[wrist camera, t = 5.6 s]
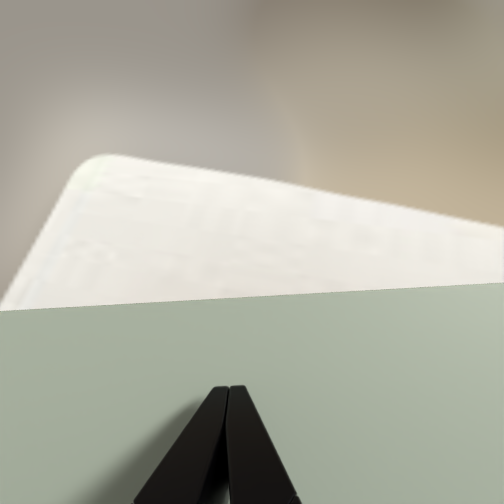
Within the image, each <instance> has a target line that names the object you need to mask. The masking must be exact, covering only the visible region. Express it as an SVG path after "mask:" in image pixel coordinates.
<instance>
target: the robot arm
mask: <svg viewBox="0 0 504 504" xmlns="http://www.w3.org/2000/svg"><path fill="white" fill-rule="evenodd" d="M229 497H230V504H302V502H301V500H300V498H299V496H297V492H296V490H295V488H294V486H293V484H292V482H291V479H290V477H289V475H288V473H287V471H286V469H285V467H284V465H283V463H282V461H281V459H280V456H279V454H278V452H277V450H276V448H275V446H274V444H273V442H272V440H271V438H270V436H269V434H268V431H267V429H266V427H265V425H264V423H263V421H262V419H261V417H260V415H259V413H258V411H257V409H256V406H255V404H254V402H253V400H252V398H251V396H250V394H249V392H248V390H247V388H246V386H245V385H232V386H230V388H229V387H228V386H215V387H213V388H212V389H211V391H210V392H209V394H208V395H207V396H206V398H205V399H204V401H203V402H202V403H201V405H200V406H199V408H198V409H197V411H196V412H195V413H194V415H193V416H192V418H191V419H190V420H189V422H188V423H187V425H186V426H185V427H184V429H183V430H182V432H181V433H180V435H179V436H178V437H177V439H176V440H175V442H174V443H173V444H172V446H171V447H170V449H169V450H168V452H167V453H166V454H165V456H164V457H163V459H162V460H161V461H160V463H159V464H158V466H157V467H156V468H155V470H154V471H153V473H152V474H151V476H150V477H149V478H148V480H147V481H146V483H145V484H144V485H143V487H142V488H141V490H140V491H139V492H138V494H137V495H136V497H135V498H134V500H133V503H134V504H228V500H229ZM133 503H131V504H133Z"/></svg>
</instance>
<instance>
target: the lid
mask: <svg viewBox="0 0 504 504" xmlns="http://www.w3.org/2000/svg"><path fill="white" fill-rule="evenodd" d="M232 385H245V386H246V388H247V390H248V392H249V394H250V396H251V398H252V400H253V402H254V404H255V406H256V409H257V411H258V413H259V415H260V417H261V419H262V421H263V423H264V425H265V427H266V429H267V431H268V434H269V436H270V438H271V440H272V442H273V444H274V446H275V448H276V450H277V452H278V454H279V456H280V459H281V461H282V463H283V465H284V467H285V469H286V471H287V473H288V475H289V477H290V479H291V482H292V484H293V486H294V488H295V490H296V492H297V496H299V498H300V500H301V502H302V504H504V283H490V284H472V285H455V286H437V287H419V288H402V289H384V290H366V291H349V292H331V293H313V294H296V295H278V296H260V297H242V298H225V299H207V300H189V301H172V302H154V303H136V304H119V305H101V306H83V307H66V308H48V309H30V310H13V311H0V504H131V503H133V500H134V498H135V497H136V495H137V494H138V492H139V491H140V490H141V488H142V487H143V485H144V484H145V483H146V481H147V480H148V478H149V477H150V476H151V474H152V473H153V471H154V470H155V468H156V467H157V466H158V464H159V463H160V461H161V460H162V459H163V457H164V456H165V454H166V453H167V452H168V450H169V449H170V447H171V446H172V444H173V443H174V442H175V440H176V439H177V437H178V436H179V435H180V433H181V432H182V430H183V429H184V427H185V426H186V425H187V423H188V422H189V420H190V419H191V418H192V416H193V415H194V413H195V412H196V411H197V409H198V408H199V406H200V405H201V403H202V402H203V401H204V399H205V398H206V396H207V395H208V394H209V392H210V391H211V389H212V388H213V387H215V386H228V387H229V388H230V386H232ZM133 504H134V503H133ZM228 504H230V497H229V500H228Z"/></svg>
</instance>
